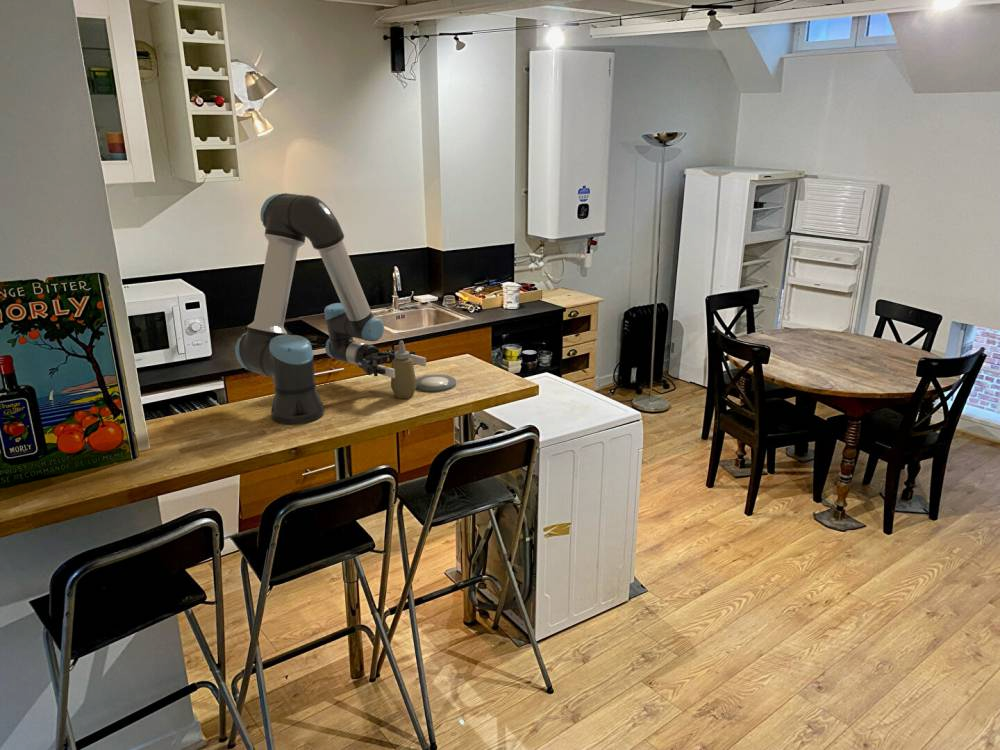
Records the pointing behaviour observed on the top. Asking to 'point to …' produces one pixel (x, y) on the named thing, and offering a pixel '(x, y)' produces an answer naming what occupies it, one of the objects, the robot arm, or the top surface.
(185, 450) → the top surface
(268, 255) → the robot arm
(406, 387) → the squeeze bottle
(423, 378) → the coaster
